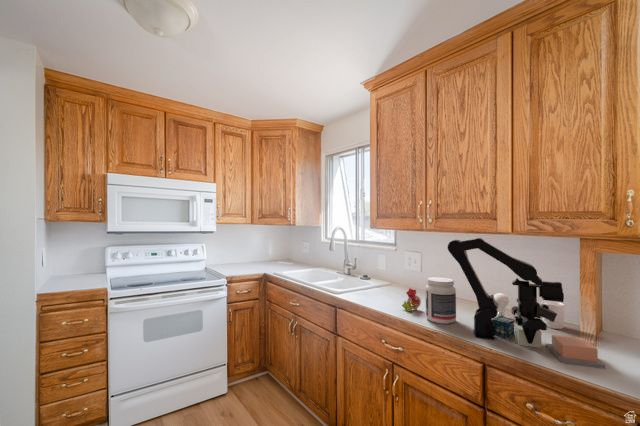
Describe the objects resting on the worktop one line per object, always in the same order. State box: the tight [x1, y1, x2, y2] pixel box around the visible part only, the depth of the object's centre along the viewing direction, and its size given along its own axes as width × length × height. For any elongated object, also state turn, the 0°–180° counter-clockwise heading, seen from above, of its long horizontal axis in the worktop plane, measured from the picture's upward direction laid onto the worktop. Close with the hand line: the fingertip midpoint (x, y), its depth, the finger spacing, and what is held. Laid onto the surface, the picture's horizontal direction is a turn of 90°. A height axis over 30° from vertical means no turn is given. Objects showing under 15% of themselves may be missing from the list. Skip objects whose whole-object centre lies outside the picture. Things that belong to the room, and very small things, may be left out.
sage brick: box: [514, 324, 543, 348], centre depth 110 cm, size 7×5×6 cm, turn 70°
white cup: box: [540, 300, 565, 330], centre depth 128 cm, size 8×8×10 cm
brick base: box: [545, 334, 606, 369], centre depth 99 cm, size 11×13×5 cm
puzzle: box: [492, 316, 515, 340], centre depth 118 cm, size 6×6×6 cm
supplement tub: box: [425, 276, 457, 325], centre depth 135 cm, size 13×13×18 cm
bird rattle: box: [401, 287, 422, 313], centre depth 150 cm, size 6×11×9 cm
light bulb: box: [493, 292, 510, 318], centre depth 140 cm, size 7×7×11 cm
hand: (527, 340), depth 110 cm, fingers closed on sage brick, 5 cm apart
